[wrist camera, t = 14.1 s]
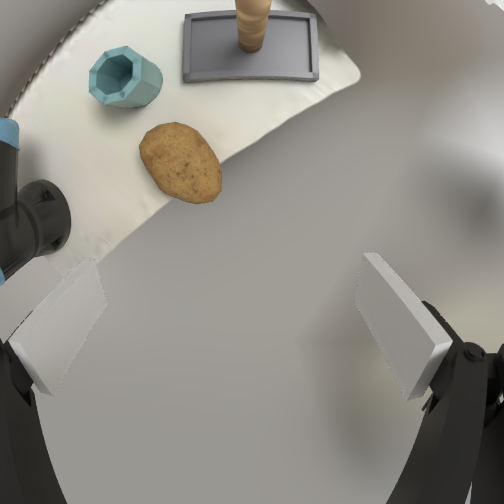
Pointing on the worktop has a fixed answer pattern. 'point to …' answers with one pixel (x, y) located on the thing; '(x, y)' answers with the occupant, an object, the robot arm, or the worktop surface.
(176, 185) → the potato
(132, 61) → the cup
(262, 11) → the dowel
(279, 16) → the tray
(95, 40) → the worktop surface
